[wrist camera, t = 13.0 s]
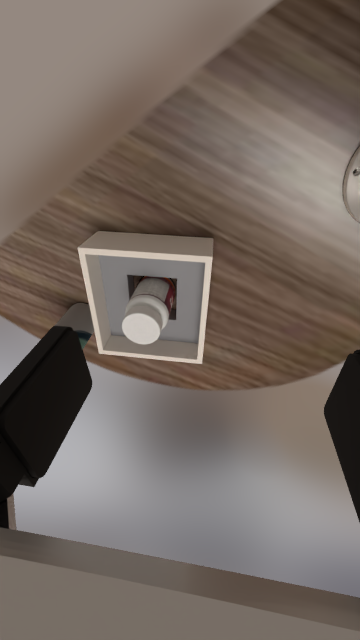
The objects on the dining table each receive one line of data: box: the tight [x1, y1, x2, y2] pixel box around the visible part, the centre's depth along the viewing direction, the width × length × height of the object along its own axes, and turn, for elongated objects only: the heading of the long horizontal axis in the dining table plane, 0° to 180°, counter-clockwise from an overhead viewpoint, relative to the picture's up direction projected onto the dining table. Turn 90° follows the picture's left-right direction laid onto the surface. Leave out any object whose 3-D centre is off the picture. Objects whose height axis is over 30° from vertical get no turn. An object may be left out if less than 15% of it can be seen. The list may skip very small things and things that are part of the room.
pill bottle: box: [122, 276, 175, 344], centre depth 39 cm, size 6×6×11 cm
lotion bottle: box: [55, 303, 94, 350], centre depth 41 cm, size 6×6×20 cm
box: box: [78, 231, 213, 364], centre depth 41 cm, size 17×18×7 cm
